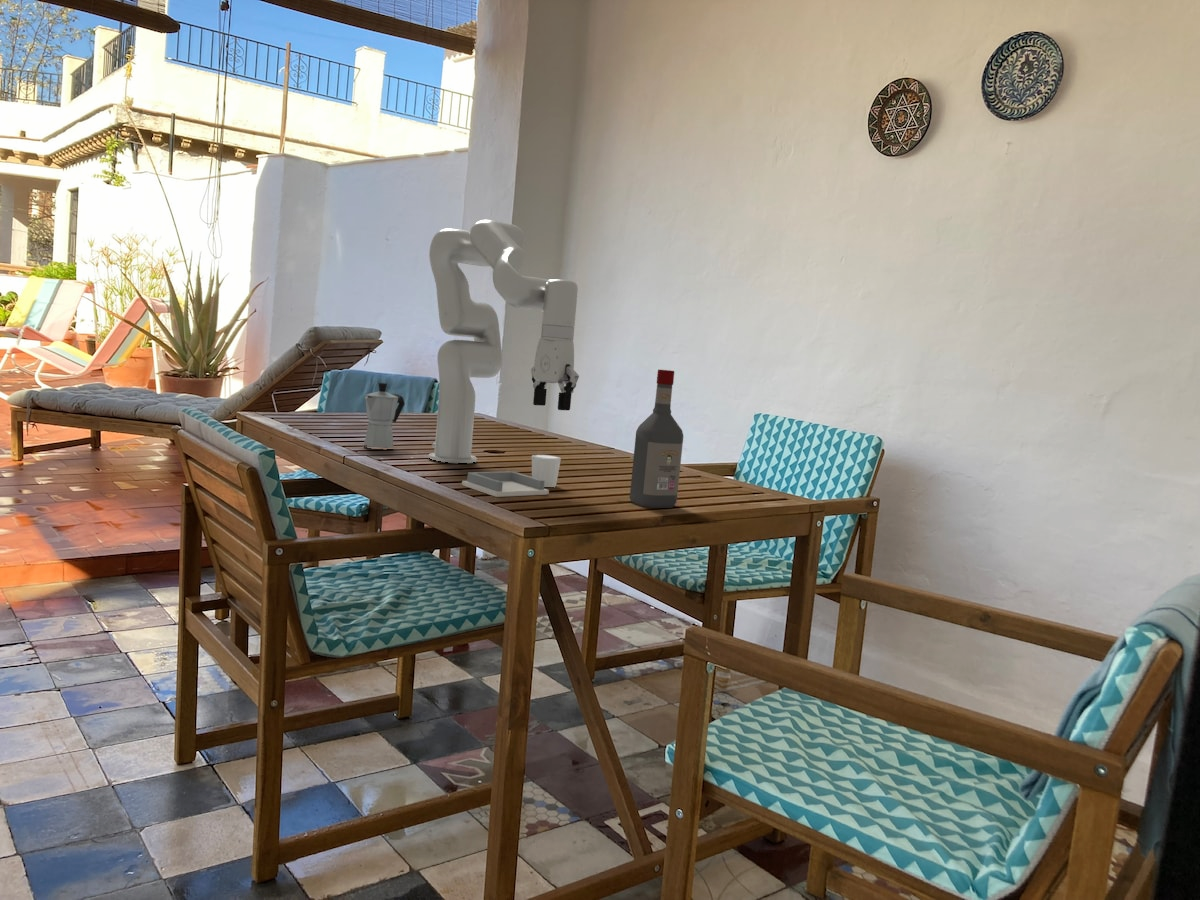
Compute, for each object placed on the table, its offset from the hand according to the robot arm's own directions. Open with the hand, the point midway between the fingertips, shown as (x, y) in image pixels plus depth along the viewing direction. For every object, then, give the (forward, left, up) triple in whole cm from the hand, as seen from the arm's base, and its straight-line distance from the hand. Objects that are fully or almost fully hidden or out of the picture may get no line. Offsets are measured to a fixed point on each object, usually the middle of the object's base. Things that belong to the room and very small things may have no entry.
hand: (551, 407), depth 219 cm
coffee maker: (-60, -12, -19) cm, 64 cm away
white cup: (0, 0, -19) cm, 19 cm away
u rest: (+3, -13, -18) cm, 23 cm away
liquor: (+25, +12, -19) cm, 33 cm away
